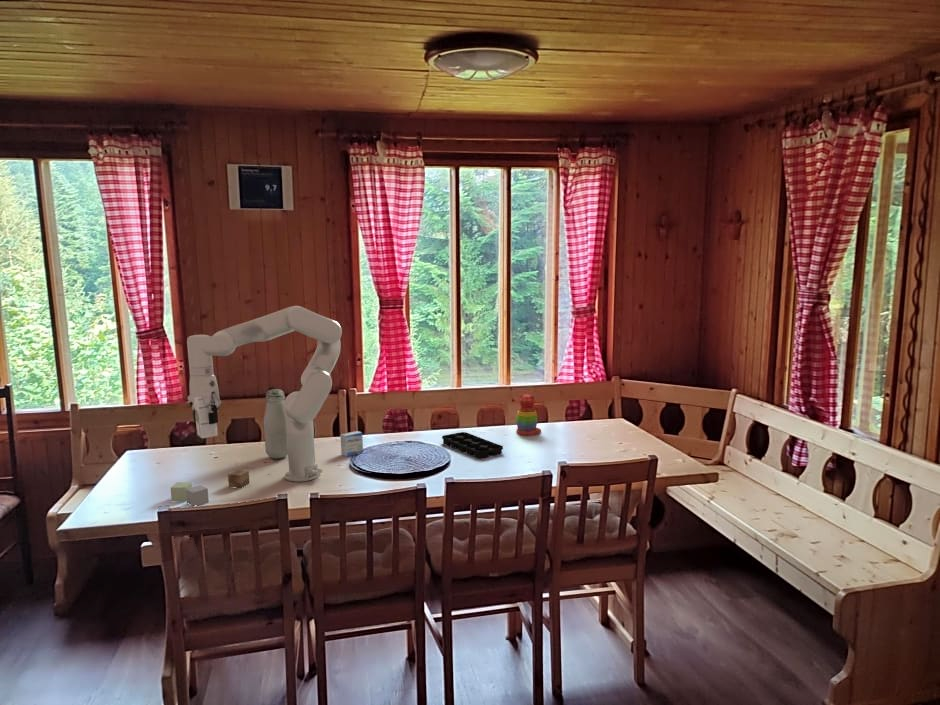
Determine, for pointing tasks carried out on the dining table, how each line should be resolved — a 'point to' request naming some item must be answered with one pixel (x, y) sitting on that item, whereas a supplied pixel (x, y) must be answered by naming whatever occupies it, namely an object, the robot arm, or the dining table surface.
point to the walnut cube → (238, 478)
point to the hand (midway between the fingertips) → (206, 421)
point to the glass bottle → (275, 425)
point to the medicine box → (351, 443)
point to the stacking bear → (527, 417)
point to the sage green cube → (180, 491)
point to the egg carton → (472, 445)
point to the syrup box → (203, 419)
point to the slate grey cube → (197, 495)
